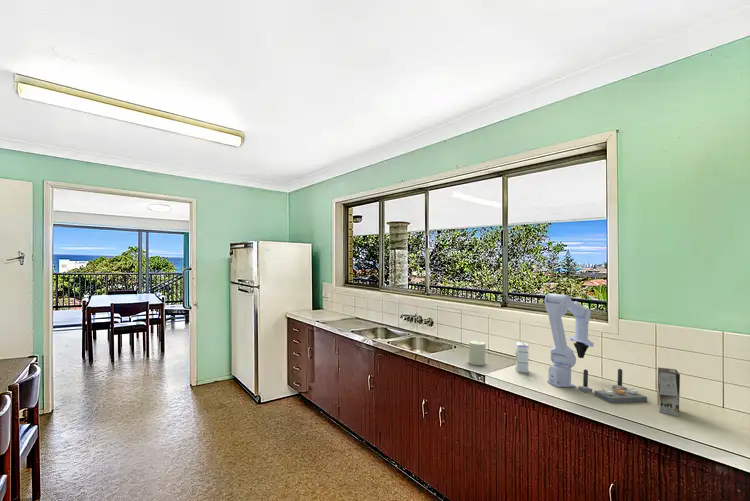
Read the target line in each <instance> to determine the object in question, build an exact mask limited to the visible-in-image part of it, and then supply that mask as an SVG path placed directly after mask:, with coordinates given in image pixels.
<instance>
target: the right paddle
mask: <svg viewBox="0 0 750 501" xmlns="http://www.w3.org/2000/svg"><path fill="white" fill-rule="evenodd" d="M626 388H627V392H629V393H632V394H638V393H639V391H638V390H636V389H634V387H626Z"/></svg>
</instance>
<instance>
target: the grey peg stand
mask: <svg viewBox="0 0 750 501" xmlns="http://www.w3.org/2000/svg"><path fill="white" fill-rule="evenodd" d="M582 375H583V378H582V379H583V380H582V381H583V382H582V385H579V386H577V387H578V388H577V389H578V390H579V391H580V392H583V393H593V388H591V387H589V384H588V383H589V371H588V369H584V370H583V374H582Z"/></svg>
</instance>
